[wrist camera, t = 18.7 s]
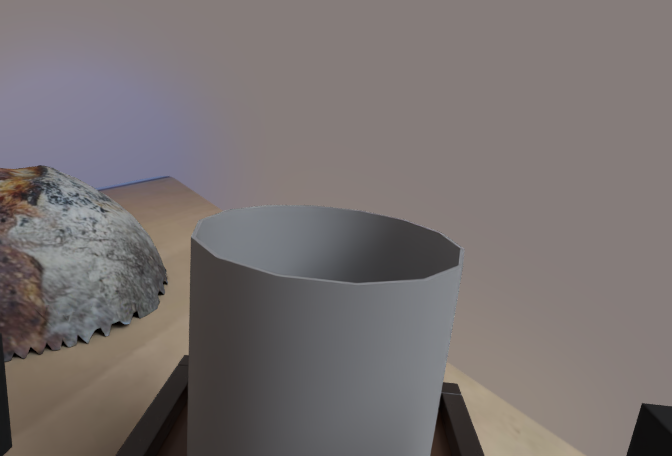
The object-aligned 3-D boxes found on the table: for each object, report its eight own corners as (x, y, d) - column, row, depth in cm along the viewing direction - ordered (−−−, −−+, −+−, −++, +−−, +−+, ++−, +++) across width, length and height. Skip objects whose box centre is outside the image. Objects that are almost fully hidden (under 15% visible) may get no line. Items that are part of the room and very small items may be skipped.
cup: (200, 656, 12) (211, 294, 10) (176, 441, 19) (179, 204, 17) (468, 562, 15) (528, 274, 13) (360, 408, 23) (386, 206, 20)
